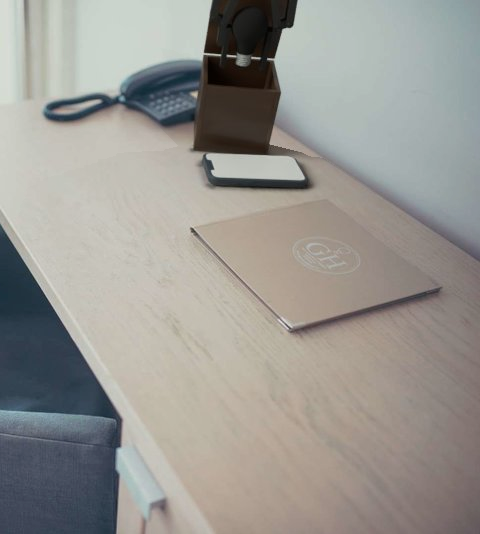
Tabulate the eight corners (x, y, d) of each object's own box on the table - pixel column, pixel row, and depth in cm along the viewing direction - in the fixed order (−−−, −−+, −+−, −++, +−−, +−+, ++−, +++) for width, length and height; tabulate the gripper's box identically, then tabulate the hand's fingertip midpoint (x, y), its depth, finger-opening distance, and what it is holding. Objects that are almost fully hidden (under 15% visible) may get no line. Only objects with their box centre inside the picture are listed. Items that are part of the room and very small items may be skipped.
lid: (296, -23, 102) (294, -54, 107) (216, -28, 103) (218, -58, 109) (274, 59, 115) (273, 27, 120) (203, 53, 116) (205, 22, 121)
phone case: (292, 163, 110) (200, 160, 110) (294, 155, 109) (201, 151, 109) (307, 190, 103) (209, 187, 103) (310, 182, 102) (210, 178, 102)
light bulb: (234, 76, 105) (245, 13, 99) (218, 63, 110) (228, 2, 104) (265, 73, 107) (278, 11, 101) (249, 60, 111) (260, 0, 105)
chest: (266, 157, 111) (281, 92, 104) (193, 150, 112) (202, 85, 105) (260, 120, 123) (274, 60, 115) (194, 114, 124) (203, 54, 117)
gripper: (205, -88, 92) (185, 70, 106) (341, -80, 90) (301, 80, 104) (206, -97, 98) (186, 54, 112) (333, -89, 96) (296, 63, 110)
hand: (241, 66), depth 108 cm, fingers closed on light bulb, 6 cm apart
